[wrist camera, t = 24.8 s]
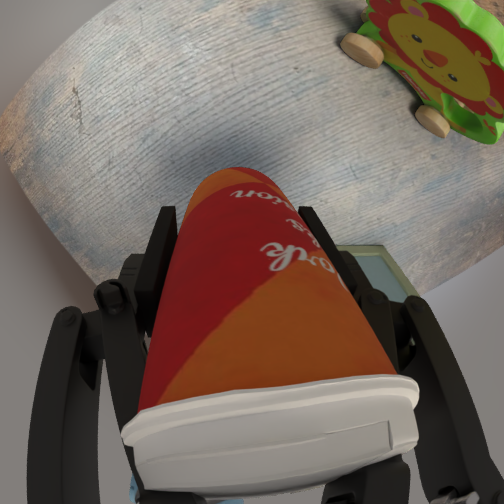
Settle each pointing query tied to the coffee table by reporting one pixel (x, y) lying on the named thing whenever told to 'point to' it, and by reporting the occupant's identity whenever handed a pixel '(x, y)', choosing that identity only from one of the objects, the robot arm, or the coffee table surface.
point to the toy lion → (439, 60)
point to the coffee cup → (261, 358)
